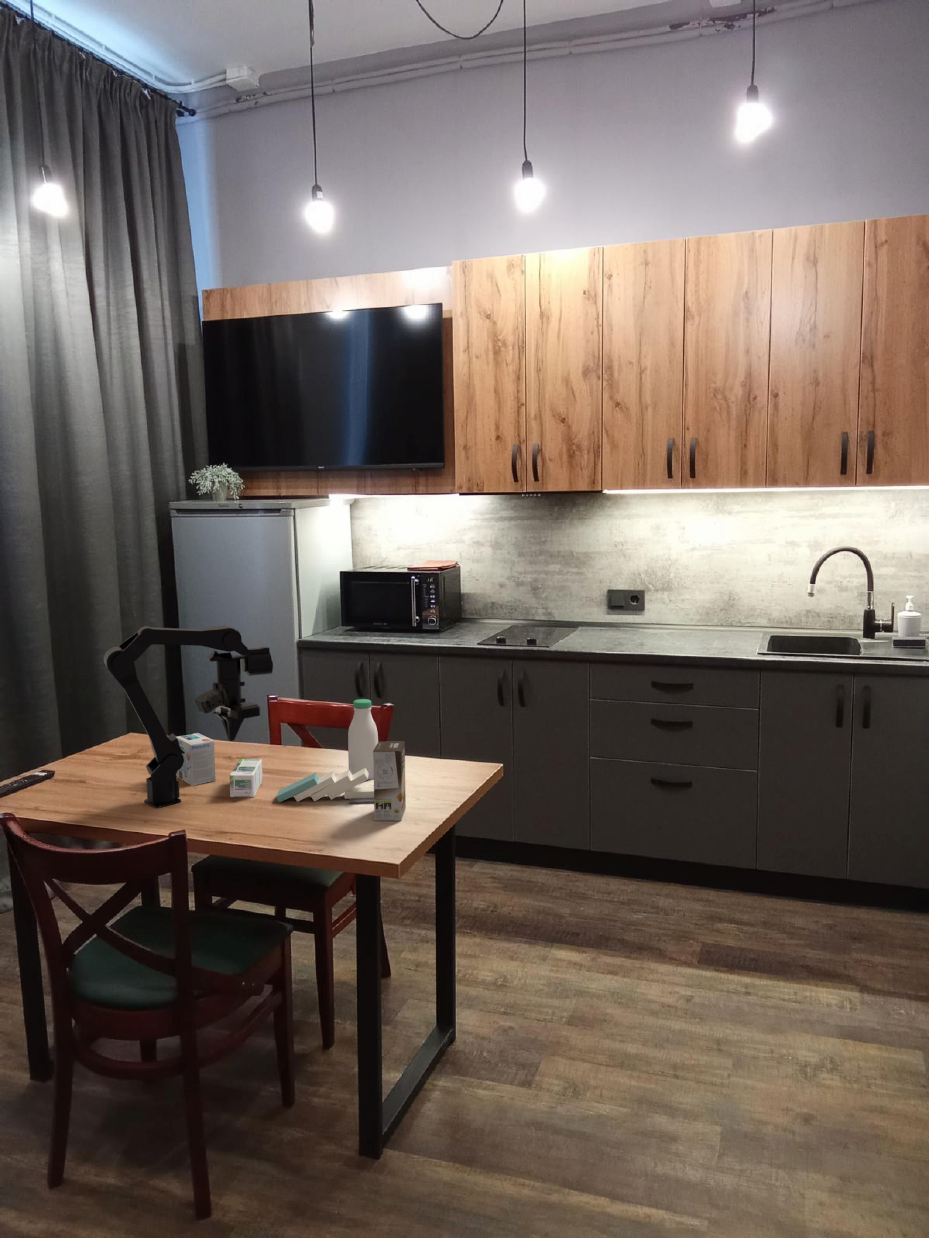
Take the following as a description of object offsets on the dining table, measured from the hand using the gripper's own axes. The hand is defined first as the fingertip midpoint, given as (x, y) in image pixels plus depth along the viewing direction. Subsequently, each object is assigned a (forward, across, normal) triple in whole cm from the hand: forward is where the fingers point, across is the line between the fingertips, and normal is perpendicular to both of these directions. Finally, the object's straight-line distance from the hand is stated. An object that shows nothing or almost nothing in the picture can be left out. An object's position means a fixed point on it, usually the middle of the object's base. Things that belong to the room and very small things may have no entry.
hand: (231, 740), depth 232 cm
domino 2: (+12, +15, +8) cm, 21 cm away
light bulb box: (+13, -17, -1) cm, 22 cm away
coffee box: (+13, +40, +17) cm, 45 cm away
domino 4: (+12, +20, +14) cm, 28 cm away
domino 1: (+12, +13, +5) cm, 18 cm away
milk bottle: (+13, +12, +31) cm, 36 cm away
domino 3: (+12, +18, +11) cm, 25 cm away
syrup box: (+10, -6, +9) cm, 15 cm away
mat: (+13, +27, +22) cm, 37 cm away
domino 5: (+12, +23, +17) cm, 31 cm away
